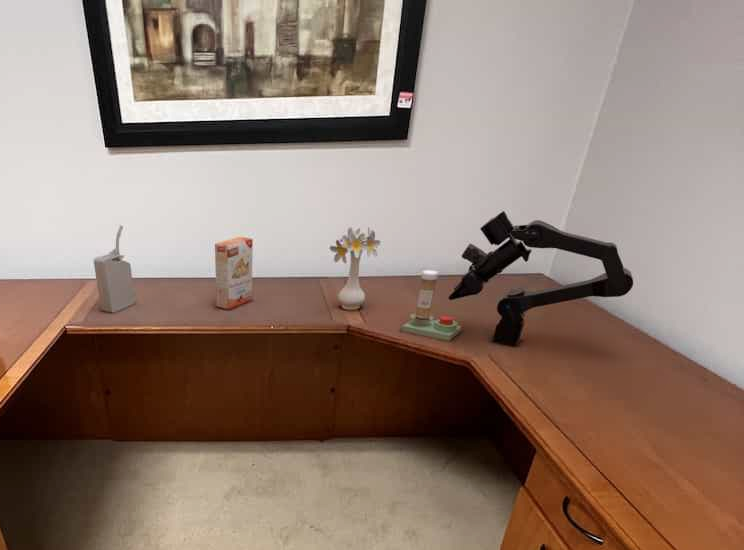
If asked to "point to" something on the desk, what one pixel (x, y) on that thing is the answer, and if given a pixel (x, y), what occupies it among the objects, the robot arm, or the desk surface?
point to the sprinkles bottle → (426, 294)
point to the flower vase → (354, 264)
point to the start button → (446, 320)
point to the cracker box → (233, 272)
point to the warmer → (432, 329)
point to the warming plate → (421, 319)
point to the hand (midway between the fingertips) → (451, 294)
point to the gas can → (114, 280)
